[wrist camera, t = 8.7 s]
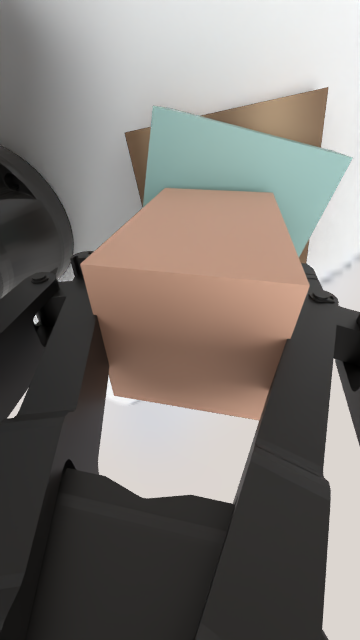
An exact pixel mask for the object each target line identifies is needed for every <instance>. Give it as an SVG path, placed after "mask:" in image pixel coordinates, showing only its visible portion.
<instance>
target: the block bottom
mask: <svg viewBox="0 0 360 640" xmlns="http://www.w3.org/2000/svg"><path fill="white" fill-rule="evenodd" d="M327 94H328V87H327V88H322V89H318V90H313V91H309V92H305V93H300V94H296V95H291V96H287V97H282V98H278V99H273V100H269V101H264V102H260V103H255V104H251V105H246V106H242V107H237V108H233V109H228V110H224V111H219V112H215V113H211V114H206V115H202V117H205V118H209V119H213V120H217V121H221V122H225V123H228V124H232V125H236V126H240V127H244V128H248V129H251V130H255V131H259V132H263V133H267V134H271V135H274V136H278V137H282V138H286V139H290V140H294V141H297V142H301V143H305V144H309V145H313V146H316V147H320V148H321V142H322V134H323V126H324V118H325V110H326V102H327ZM150 131H151V127H148V128H143V129H139V130H134V131H130V132H126V133H125V137H126V141H127V145H128V149H129V153H130V157H131V161H132V166H133V170H134V174H135V178H136V182H137V186H138V190H139V195H140V199H141V203H142V207H143V200H144V190H145V180H146V170H147V160H148V151H149V141H150ZM308 245H309V240H308V242H307V244H306V245H305V247H304V249H303V251H302V253H301V255H300V257H299V260H300V262H301V263H305V264H306V261H307V253H308Z"/></svg>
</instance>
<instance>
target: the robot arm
mask: <svg viewBox="0 0 360 640" xmlns="http://www.w3.org/2000/svg"><path fill="white" fill-rule="evenodd" d="M93 252H94V251H86V252H81V253H77V254H75V255H73V256H72V254H73V237H72V232H71V227H70V224H69V221H68V218H67V215H66V213H65V211H64V209H63V207H62V205H61V203H60V201H59V199H58V198H57V196H56V195H55V193H54V192H53V190H52V189H51V187H50V186H49V185H48V184H47V182H46V181H45V180H44V179H43V178H42V176H41V175H40V174H39V173H38V172H37V171H36V170H35V169H34V168H33V167H32V166H30V165H29V164H28V163H27V162H26V161H24V160H23V159H22V158H20V157H19V156H17V155H16V154H15V153H13V152H11V151H10V150H8V149H6V148H4V147H2V146H0V640H328V638H327V636H326V635H325V633H324V631H323V630H322V622H323V607H324V592H325V577H326V562H327V545H328V531H329V515H330V486H329V482H328V481H327V480H326V479H325V478H324V476H323V464H324V453H325V442H326V432H327V420H328V411H329V410H328V409H329V400H330V389H331V377H332V368H333V358H334V359H335V362H336V366H337V369H338V373H339V376H340V379H341V383H342V386H343V390H344V393H345V396H346V400H347V403H348V407H349V411H350V414H351V417H352V421H353V424H354V428H355V431H356V435H357V438H358V441H359V445H360V312H357V311H354V310H350V309H346V308H343V307H340V306H338V303H339V302H338V299H337V298H336V297H335V296H334V295H333V294H331V293H329V292H327V291H324V290H323V289H322V286H321V284H320V282H319V280H318V278H317V276H316V274H315V272H314V269H313V268H312V267H310V266H309V265H308V264H305V263H301V265H302V267H303V270H304V272H305V275H306V277H307V280H308V282H309V285H310V286H309V289H308V292H307V295H306V297H305V300H304V303H303V306H302V308H301V311H300V314H299V317H298V320H297V322H296V325H295V328H294V331H293V333H292V336H291V339H287V341H286V344H285V346H284V349H283V352H282V355H281V358H280V361H279V363H278V366H277V369H276V372H275V375H274V378H273V381H272V383H271V386H270V389H269V392H268V395H267V398H266V402H265V405H264V408H263V411H262V414H261V417H260V420H259V424H258V427H257V430H256V433H255V437H254V439H253V442H252V446H251V449H250V452H249V455H248V458H247V462H246V465H245V468H244V471H243V474H242V477H241V480H240V484H239V486H238V490H237V493H236V496H235V499H234V502H233V504H231V503H226V502H222V501H217V500H212V499H208V498H203V497H199V496H194V495H184V496H172V497H161V498H149V499H146V498H142V497H139V496H138V495H136V494H134V493H133V492H131V491H129V490H128V489H126V488H124V487H122V486H121V485H119V484H118V483H116V482H114V481H112V480H111V479H109V478H107V477H106V476H102V475H99V472H98V454H99V446H100V439H101V431H102V422H103V414H104V406H105V398H106V390H107V382H108V374H109V362H108V358H107V354H106V350H105V346H104V342H103V338H102V334H101V330H100V326H99V322H98V317H97V315H93V312H92V308H91V304H90V300H89V296H88V293H87V289H86V285H85V281H84V277H83V273H82V269H81V265H80V264H81V263H82V262H83V261H84V260H85V259H86V258H87V257H89V256H90V255H91V254H92V253H93ZM70 262H71V264H72V268H73V271H74V275H75V277H74V279H73V281H67V282H58V280H57V279H58V278H59V277H61V276H62V275H63V274H64V273H65V271H66V270H67V268H68V267H69V265H70ZM35 314H36V315H37V318H38V320H39V322H38V323H37V324H36V325H35V324H34V322H33V318H34V316H35ZM27 389H28V391H27ZM26 391H27V393H26V396H25V398H24V401H23V403H22V405H21V408H20V410H19V412H18V414H17V415H16V416H15V417H14V418H10V419H7V417H8V416H9V415H10V413H11V412H12V410H13V409H14V408H15V406H16V405H17V403H18V402H19V400H20V399H21V398H22V396H23V395H24V393H25V392H26Z"/></svg>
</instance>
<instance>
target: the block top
mask: <svg viewBox="0 0 360 640" xmlns="http://www.w3.org/2000/svg"><path fill="white" fill-rule="evenodd" d="M351 160H352V158H351V157H349V156H346V155H343V154H340V153H337V152H335V151H332V150H328V149H324V148H320V147H316V146H313V145H309V144H305V143H301V142H297V141H294V140H290V139H286V138H282V137H278V136H274V135H271V134H267V133H263V132H259V131H255V130H251V129H248V128H244V127H240V126H236V125H232V124H228V123H225V122H221V121H217V120H213V119H209V118H205V117H202V116H198V115H194V114H190V113H186V112H183V111H179V110H175V109H171V108H165V107H158V106H153V111H152V121H151V131H150V141H149V151H148V160H147V170H146V180H145V190H144V200H143V207H144V206H145V205H147V204H148V203H149V202H150V201H151V200H152V199H153V198H154V197H156V196H157V195H158V194H159V193H160V192H161V191H162V190H163V189H164V188H178V189H201V190H224V191H247V192H270V193H273V194H274V197H275V199H276V202H277V204H278V207H279V209H280V212H281V214H282V217H283V219H284V222H285V224H286V227H287V229H288V232H289V234H290V237H291V239H292V242H293V245H294V247H295V250H296V252H297V255H298V257H300V255H301V253H302V251H303V249H304V247H305V245H306V244H307V242H308V240H309V238H310V236H311V234H312V232H313V231H314V229H315V227H316V225H317V223H318V221H319V219H320V218H321V216H322V214H323V212H324V210H325V208H326V207H327V205H328V203H329V201H330V199H331V197H332V195H333V194H334V192H335V190H336V188H337V186H338V184H339V182H340V181H341V179H342V177H343V175H344V173H345V171H346V170H347V168H348V166H349V164H350V162H351Z"/></svg>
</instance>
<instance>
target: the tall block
mask: <svg viewBox="0 0 360 640" xmlns="http://www.w3.org/2000/svg"><path fill="white" fill-rule="evenodd" d="M80 265H81V269H82V273H83V277H84V281H85V285H86V289H87V293H88V296H89V300H90V304H91V308H92V312H93V315H97V317H98V322H99V326H100V330H101V334H102V338H103V342H104V346H105V350H106V354H107V358H108V362H109V378H110V382H111V385H112V389H113V393H114V396H120V397H125V398H131V399H137V400H143V401H149V402H155V403H161V404H167V405H172V406H178V407H184V408H189V409H196V410H202V411H207V412H213V413H219V414H225V415H230V416H236V417H242V418H248V419H254V420H260V417H261V414H262V411H263V408H264V405H265V402H266V398H267V395H268V392H269V389H270V386H271V383H272V381H273V378H274V375H275V372H276V369H277V366H278V363H279V361H280V358H281V355H282V352H283V349H284V346H285V344H286V341H287V339H291V336H292V333H293V331H294V328H295V325H296V322H297V320H298V317H299V314H300V311H301V308H302V306H303V303H304V300H305V297H306V295H307V292H308V289H309V286H310V285H309V282H308V280H307V277H306V275H305V272H304V270H303V267H302V265H301V262H300V260H299V257H298V255H297V252H296V250H295V247H294V245H293V242H292V239H291V237H290V234H289V232H288V229H287V227H286V224H285V222H284V219H283V217H282V214H281V212H280V209H279V207H278V204H277V202H276V199H275V197H274V194H273V193H270V192H247V191H224V190H201V189H178V188H164V189H163V190H162V191H161V192H160V193H159V194H158V195H157V196H156V197H154V198H153V199H152V200H151V201H150V202H149V203H148V204H147V205H145V206H144V207H143V208H142V209H141V210H140V211H139V212H138V213H137V214H135V215H134V216H133V217H132V218H131V219H130V220H129V221H128V222H127V223H125V224H124V225H123V226H122V227H121V228H120V229H119V230H118V231H116V232H115V233H114V234H113V235H112V236H111V237H110V238H109V239H108V240H106V241H105V242H104V243H103V244H102V245H101V246H100V247H99V248H97V249H96V250H95V251H94V252H93V253H92V254H91V255H90V256H89V257H87V258H86V259H85V260H84V261H83V262H82V263H81V264H80Z"/></svg>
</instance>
